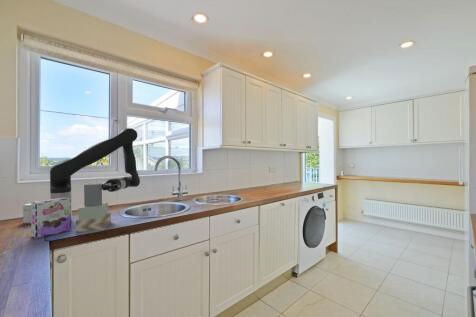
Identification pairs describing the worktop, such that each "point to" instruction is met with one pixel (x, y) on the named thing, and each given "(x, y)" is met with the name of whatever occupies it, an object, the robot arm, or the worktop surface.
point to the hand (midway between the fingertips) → (96, 188)
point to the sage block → (93, 211)
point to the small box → (27, 213)
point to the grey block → (92, 194)
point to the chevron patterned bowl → (93, 223)
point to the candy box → (50, 217)
